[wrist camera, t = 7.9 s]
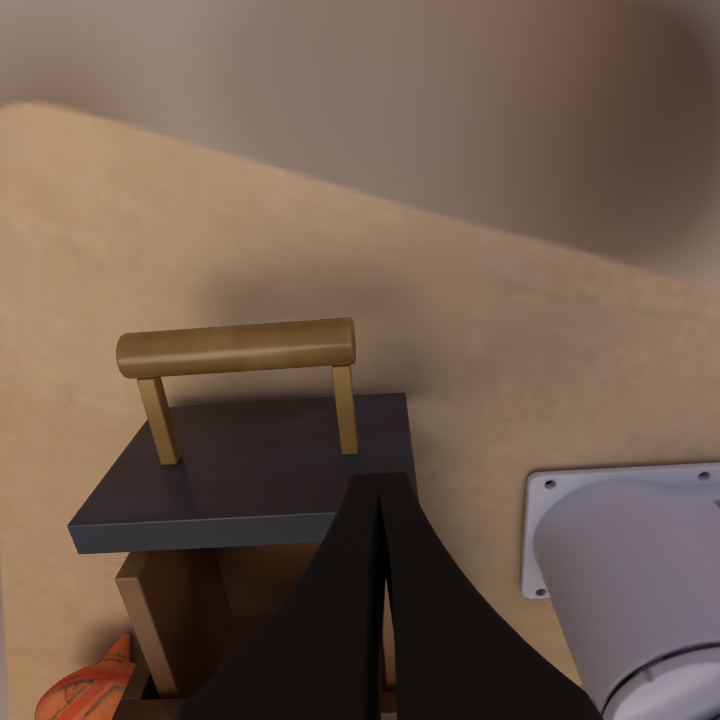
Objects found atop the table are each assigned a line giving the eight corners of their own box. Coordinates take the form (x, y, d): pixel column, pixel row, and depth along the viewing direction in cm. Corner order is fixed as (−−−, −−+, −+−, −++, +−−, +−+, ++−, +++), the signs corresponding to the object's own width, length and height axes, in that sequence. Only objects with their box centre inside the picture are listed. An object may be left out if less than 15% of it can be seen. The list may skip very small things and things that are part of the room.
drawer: (125, 299, 21) (7, 383, 14) (399, 279, 20) (413, 356, 13) (212, 609, 28) (163, 762, 21) (416, 601, 27) (430, 755, 21)
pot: (38, 626, 30) (-13, 751, 23) (181, 599, 31) (168, 710, 25) (73, 719, 33) (35, 851, 26) (202, 689, 34) (194, 808, 28)
